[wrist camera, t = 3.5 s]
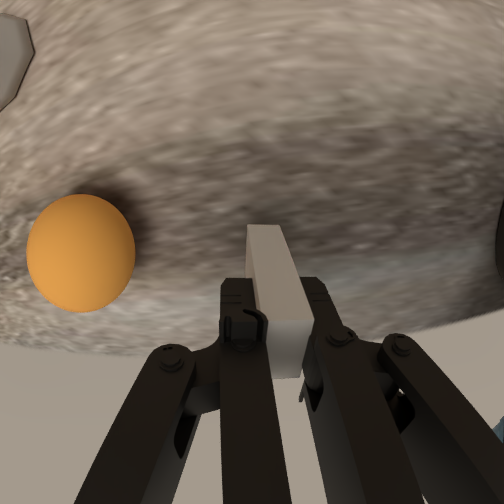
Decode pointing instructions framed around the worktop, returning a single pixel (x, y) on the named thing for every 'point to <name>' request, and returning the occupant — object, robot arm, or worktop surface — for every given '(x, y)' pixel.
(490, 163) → the worktop surface
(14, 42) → the flask
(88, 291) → the ball
